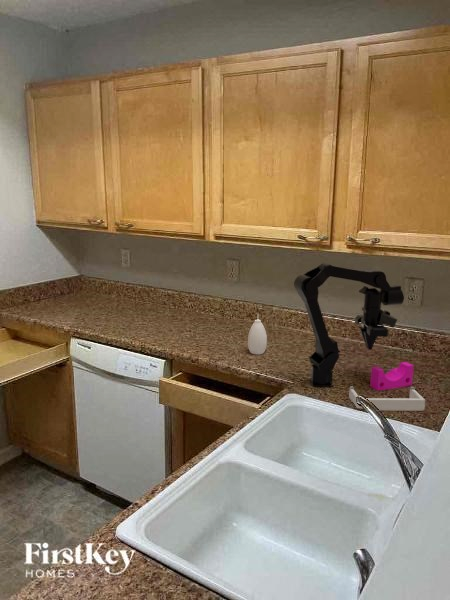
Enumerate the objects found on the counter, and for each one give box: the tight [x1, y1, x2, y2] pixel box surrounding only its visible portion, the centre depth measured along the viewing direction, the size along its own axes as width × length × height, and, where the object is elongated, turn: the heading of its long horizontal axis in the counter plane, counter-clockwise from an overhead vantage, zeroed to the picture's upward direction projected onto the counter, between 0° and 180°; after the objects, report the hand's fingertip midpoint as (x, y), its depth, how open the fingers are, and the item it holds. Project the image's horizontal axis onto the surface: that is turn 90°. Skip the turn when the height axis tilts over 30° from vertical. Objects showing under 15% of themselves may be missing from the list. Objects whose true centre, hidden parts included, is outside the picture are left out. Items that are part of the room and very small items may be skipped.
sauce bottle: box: [247, 315, 268, 356], centre depth 191 cm, size 8×8×18 cm
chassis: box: [348, 385, 426, 412], centre depth 147 cm, size 21×9×4 cm, turn 90°
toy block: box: [369, 361, 415, 392], centre depth 163 cm, size 15×6×8 cm, turn 112°
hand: (369, 348), depth 165 cm, fingers closed
